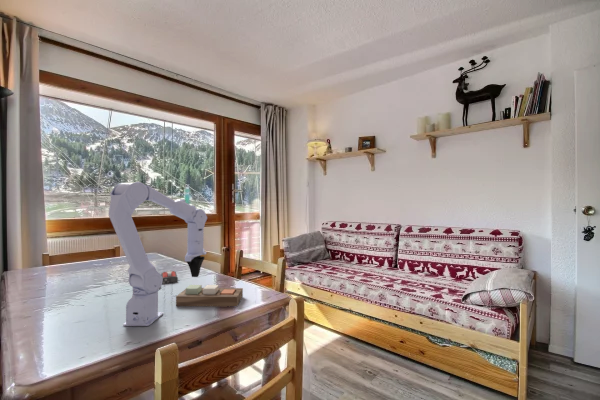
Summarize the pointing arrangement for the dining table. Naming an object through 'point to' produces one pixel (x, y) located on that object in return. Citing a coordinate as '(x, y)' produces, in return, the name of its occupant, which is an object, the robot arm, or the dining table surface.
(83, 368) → the dining table surface
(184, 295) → the wooden tray
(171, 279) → the walkie-talkie
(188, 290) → the key sage
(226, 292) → the key rust
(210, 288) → the key cream
